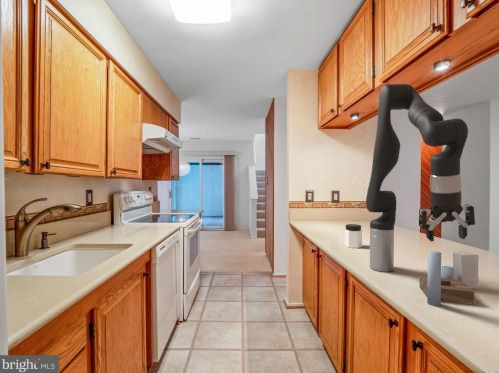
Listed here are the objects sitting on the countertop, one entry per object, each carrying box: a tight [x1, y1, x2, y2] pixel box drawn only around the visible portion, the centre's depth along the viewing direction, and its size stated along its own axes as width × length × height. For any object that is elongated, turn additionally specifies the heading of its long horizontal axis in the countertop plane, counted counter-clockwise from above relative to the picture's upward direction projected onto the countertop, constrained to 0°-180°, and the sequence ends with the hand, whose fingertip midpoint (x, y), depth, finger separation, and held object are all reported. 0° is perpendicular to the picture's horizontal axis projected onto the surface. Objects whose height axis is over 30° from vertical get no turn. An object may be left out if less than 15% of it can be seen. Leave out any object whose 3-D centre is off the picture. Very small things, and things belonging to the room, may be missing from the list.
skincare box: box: [452, 251, 479, 290], centre depth 96 cm, size 6×4×12 cm
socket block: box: [418, 275, 475, 305], centre depth 90 cm, size 10×12×4 cm
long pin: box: [426, 250, 442, 307], centre depth 84 cm, size 3×3×16 cm
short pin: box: [441, 265, 454, 279], centre depth 96 cm, size 3×3×7 cm
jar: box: [344, 223, 363, 249], centre depth 153 cm, size 9×8×12 cm
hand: (446, 239), depth 84 cm, fingers open, 8 cm apart
